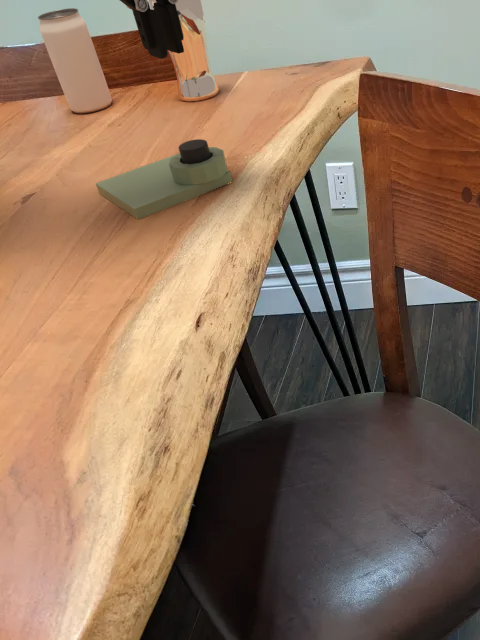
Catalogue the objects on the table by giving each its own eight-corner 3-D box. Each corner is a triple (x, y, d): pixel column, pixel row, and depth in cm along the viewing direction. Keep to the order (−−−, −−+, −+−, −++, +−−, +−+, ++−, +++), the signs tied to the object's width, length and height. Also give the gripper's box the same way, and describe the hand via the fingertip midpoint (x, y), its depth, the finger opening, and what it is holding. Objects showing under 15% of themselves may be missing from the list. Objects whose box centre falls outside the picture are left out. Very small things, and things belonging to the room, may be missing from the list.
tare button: (191, 169, 76) (186, 152, 75) (178, 162, 78) (173, 146, 77) (216, 159, 77) (212, 143, 76) (203, 153, 79) (198, 137, 78)
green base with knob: (140, 221, 74) (129, 193, 72) (99, 193, 81) (88, 167, 79) (239, 182, 79) (233, 154, 77) (193, 159, 86) (185, 133, 83)
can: (77, 117, 103) (40, 21, 94) (66, 108, 107) (30, 15, 98) (118, 105, 105) (86, 11, 96) (106, 97, 109) (74, 5, 100)
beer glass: (208, 102, 101) (176, -24, 90) (168, 103, 103) (131, -21, 92) (230, 87, 105) (201, -36, 95) (191, 87, 108) (158, -33, 97)
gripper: (158, -212, 62) (215, 30, 75) (-12, -189, 56) (82, 69, 69) (197, -221, 57) (250, 38, 71) (17, -196, 52) (111, 81, 65)
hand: (166, 52), depth 70 cm, fingers closed
